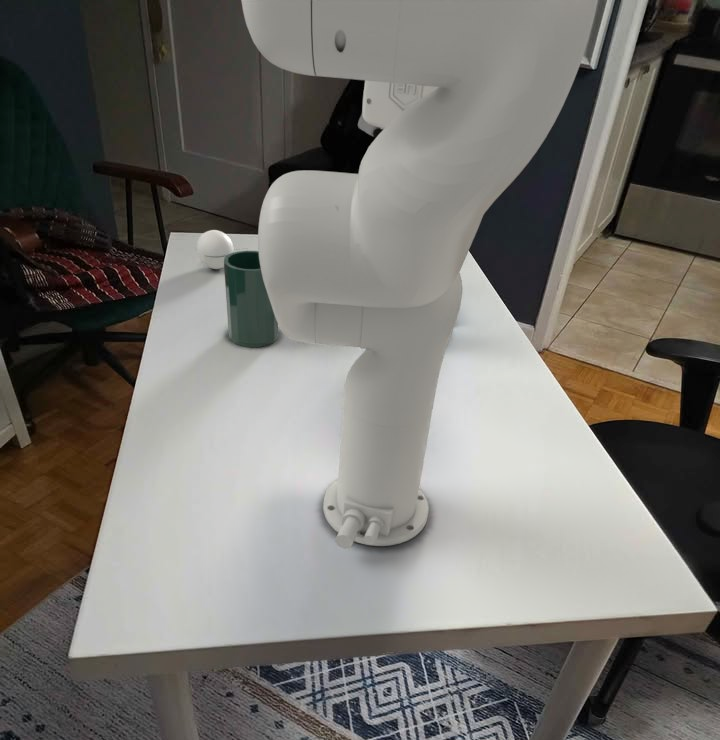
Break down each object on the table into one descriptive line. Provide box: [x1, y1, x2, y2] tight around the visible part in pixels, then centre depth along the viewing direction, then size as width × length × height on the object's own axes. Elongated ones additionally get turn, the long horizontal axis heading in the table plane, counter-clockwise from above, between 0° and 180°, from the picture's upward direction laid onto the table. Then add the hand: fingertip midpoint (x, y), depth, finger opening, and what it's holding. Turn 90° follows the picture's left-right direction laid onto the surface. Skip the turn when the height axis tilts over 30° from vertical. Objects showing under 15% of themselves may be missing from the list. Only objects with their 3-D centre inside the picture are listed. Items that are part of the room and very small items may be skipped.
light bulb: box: [195, 229, 249, 270], centre depth 128 cm, size 10×7×7 cm
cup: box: [223, 250, 279, 348], centre depth 105 cm, size 8×8×13 cm
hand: (401, 190), depth 79 cm, fingers closed
